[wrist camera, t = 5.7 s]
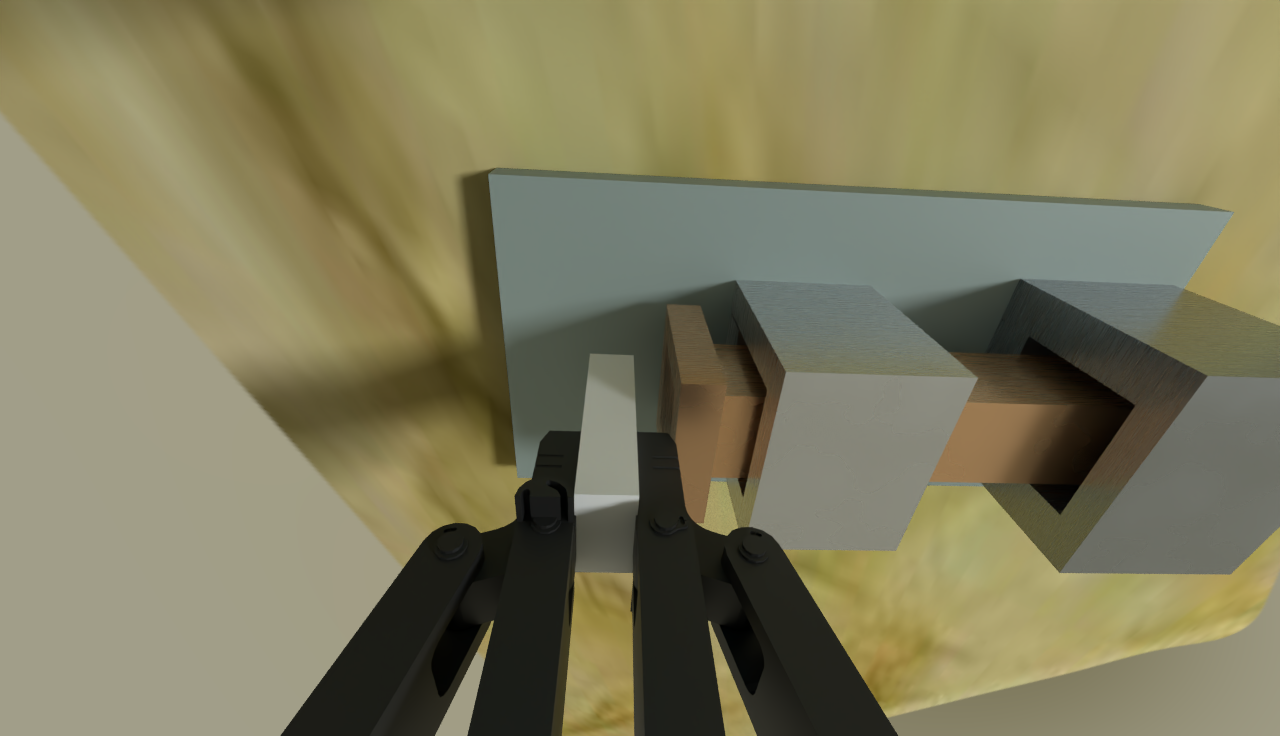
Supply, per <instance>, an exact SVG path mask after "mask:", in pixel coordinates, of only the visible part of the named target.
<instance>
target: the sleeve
mask: <svg viewBox="0 0 1280 736" xmlns="http://www.w3.org/2000/svg"><path fill="white" fill-rule="evenodd" d="M731 312H732V313H730V319H729V326H728V332H727V338H726V344H725V345H747V347H748V349H749V351H750V353H751V356H752V358H753V360H754V362H755V364H756V366H757V369H758V371H759V373H760V375H761V377H762V380H763V382H764V384H765V386H766V388H767V393H766V398H765V402H764V407H763V411H762V416H761V420H760V425H759V429H758V434H757V438H756V443H755V447H754V452H753V456H752V461H751V465H750V470H749V474H748V478H726V481H727V485H728V489H729V493H730V497H731V501H732V505H733V509H734V513H735V517H736V521H737V525H738V528H740V527H753V528H757V529H760V530H763V531H765V532H766V533H768V534H769V535H771V536H772V537H773V538H774V539H775V540H776V541H777V542H778V543H779V545H780V546H781V548H782V549H795V550H883V551H896V550H897V548H898V545H899V543H900V541H901V539H902V537H903V535H904V533H905V531H906V529H907V526H908V524H909V522H910V520H911V518H912V516H913V514H914V512H915V510H916V508H917V505H918V503H919V501H920V499H921V497H922V495H923V493H924V491H925V489H926V486H927V484H928V482H929V480H930V478H931V476H932V474H933V472H934V470H935V468H936V465H937V463H938V461H939V459H940V457H941V455H942V453H943V451H944V449H945V447H946V444H947V442H948V440H949V438H950V436H951V434H952V432H953V430H954V428H955V425H956V423H957V421H958V419H959V417H960V415H961V413H962V411H963V409H964V407H965V404H966V402H967V400H968V398H969V396H970V394H971V392H972V390H973V388H974V385H975V383H976V381H977V379H978V377H977V376H975V375H974V374H973V373H972V372H971V371H970V370H968V369H967V368H966V367H965V366H964V365H963V364H961V363H960V362H959V361H958V360H957V359H956V358H954V357H953V356H952V355H951V354H950V353H949V352H947V351H946V350H945V349H944V348H943V347H942V346H940V345H939V344H938V343H937V342H936V341H935V340H933V339H932V338H931V337H930V336H929V335H928V334H926V333H925V332H924V331H923V330H922V329H921V328H919V327H918V326H917V325H916V324H915V323H914V322H912V321H911V320H910V319H909V318H908V317H907V316H905V315H904V314H903V313H902V312H901V311H900V310H898V309H897V308H896V307H895V306H894V305H893V304H891V303H890V302H889V301H888V300H887V299H886V298H884V297H883V296H882V295H881V294H880V293H879V292H877V291H876V290H875V289H874V288H873V287H872V286H871V285H847V284H822V283H798V282H773V281H749V280H736V282H735V288H734V295H733V301H732V307H731Z"/></svg>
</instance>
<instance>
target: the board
mask: <svg viewBox="0 0 1280 736" xmlns="http://www.w3.org/2000/svg"><path fill="white" fill-rule="evenodd" d="M488 178H489V188H490V198H491V208H492V219H493V229H494V239H495V250H496V260H497V270H498V280H499V291H500V301H501V311H502V322H503V332H504V342H505V353H506V363H507V373H508V383H509V394H510V404H511V414H512V425H513V435H514V445H515V455H516V466H517V476H518V478H532V476H533V471H534V467H535V462H536V458H537V453H538V449H539V444H540V441H541V440H542V439H543V438H544V436H545V435H546V434H547V433H548V432H549V431H581V429H582V420H583V412H584V403H585V394H586V385H587V377H588V368H589V359H590V354H613V355H634V378H635V403H636V427H637V432H657V426H656V419H657V408H658V396H659V385H660V374H661V362H662V351H663V340H664V328H665V317H666V306H667V304H676V305H700V306H701V309H702V312H703V315H704V318H705V321H706V324H707V327H708V330H709V333H710V336H711V339H712V342H713V344H724V345H725V344H726V338H727V332H728V326H729V319H730V313H732V312H731V307H732V301H733V295H734V288H735V282H736V280H749V281H773V282H798V283H822V284H847V285H871V286H872V287H873V288H874V289H875V290H876V291H877V292H879V293H880V294H881V295H882V296H883V297H884V298H886V299H887V300H888V301H889V302H890V303H891V304H893V305H894V306H895V307H896V308H897V309H898V310H900V311H901V312H902V313H903V314H904V315H905V316H907V317H908V318H909V319H910V320H911V321H912V322H914V323H915V324H916V325H917V326H918V327H919V328H921V329H922V330H923V331H924V332H925V333H926V334H928V335H929V336H930V337H931V338H932V339H933V340H935V341H936V342H937V343H938V344H939V345H940V346H942V347H943V348H944V349H945V350H946V351H947V352H961V353H985V352H986V350H987V348H988V346H989V344H990V342H991V339H992V337H993V335H994V333H995V331H996V329H997V327H998V324H999V322H1000V320H1001V318H1002V316H1003V314H1004V312H1005V310H1006V307H1007V305H1008V303H1009V301H1010V299H1011V297H1012V295H1013V293H1014V290H1015V288H1016V286H1017V284H1018V282H1019V280H1020V279H1041V280H1065V281H1088V282H1112V283H1136V284H1159V285H1175V286H1177V287H1180V288H1182V289H1184V288H1185V286H1186V285H1187V283H1188V282H1189V280H1190V279H1191V277H1192V276H1193V274H1194V273H1195V271H1196V270H1197V268H1198V267H1199V265H1200V264H1201V262H1202V261H1203V259H1204V257H1205V256H1206V254H1207V253H1208V251H1209V250H1210V248H1211V247H1212V245H1213V244H1214V242H1215V241H1216V239H1217V238H1218V236H1219V235H1220V233H1221V231H1222V230H1223V228H1224V227H1225V225H1226V224H1227V222H1228V221H1229V219H1230V218H1231V216H1232V215H1233V213H1234V212H1231V211H1227V210H1222V209H1218V208H1214V207H1209V206H1205V205H1200V204H1184V203H1165V202H1145V201H1126V200H1107V199H1088V198H1068V197H1049V196H1030V195H1010V194H991V193H972V192H953V191H933V190H914V189H895V188H875V187H856V186H837V185H817V184H798V183H779V182H760V181H740V180H721V179H702V178H682V177H663V176H644V175H624V174H605V173H586V172H567V171H547V170H528V169H509V168H496V169H494V170H493V171H492V172H490V173H489V174H488ZM711 481H726V478H711ZM927 485H942V486H983V485H982V483H965V482H928V484H927Z"/></svg>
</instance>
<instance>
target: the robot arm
mask: <svg viewBox="0 0 1280 736" xmlns="http://www.w3.org/2000/svg"><path fill="white" fill-rule="evenodd" d="M515 505H516V516H517V519H516V520H515V521H513V522H512V523H510V524H508V525H507V526H505V527H502V528H499V529H496V530H492V531H488V532H483V533H480V532H479V531H478V530H477V529H476V528H475V527H473V526H471V525H468V524H464V523H453V524H449V525H445V526H442V527H440V528H438V529H437V530H435V531H433V532H432V533H431V534H430V535H429V536H428V537H427V538H426V539H425V540H424V541H423V542H422V543H421V545H420V546H419V548H418V549H417V550H416V552H415V553H414V554H413V556H412V557H411V558H410V560H409V561H408V563H407V564H406V565H405V567H404V568H403V569H402V571H401V572H400V574H399V575H398V576H397V578H396V579H395V580H394V582H393V583H392V585H391V586H390V587H389V589H388V590H387V591H386V593H385V594H384V595H383V597H382V598H381V599H380V601H379V602H378V603H377V605H376V606H375V608H374V609H373V610H372V612H371V613H370V614H369V616H368V617H367V619H366V620H365V621H364V623H363V624H362V625H361V627H360V628H359V630H358V631H357V632H356V633H355V635H354V636H353V638H352V639H351V640H350V642H349V643H348V644H347V646H346V647H345V648H344V650H343V651H342V653H341V654H340V655H339V657H338V658H337V659H336V661H335V662H334V663H333V665H332V666H331V668H330V669H329V670H328V672H327V673H326V674H325V676H324V677H323V678H322V680H321V681H320V683H319V684H318V685H317V687H316V688H315V689H314V691H313V692H312V693H311V695H310V696H309V698H308V699H307V700H306V702H305V703H304V704H303V706H302V707H301V708H300V710H299V711H298V713H297V714H296V715H295V717H294V718H293V719H292V721H291V722H290V724H289V725H288V726H287V727H286V729H285V730H284V732H283V733H282V734H281V736H435V734H436V732H437V730H438V728H439V726H440V724H441V722H442V720H443V718H444V716H445V714H446V712H447V710H448V708H449V706H450V704H451V702H452V700H453V698H454V696H455V694H456V692H457V690H458V688H459V686H460V684H461V682H462V680H463V678H464V676H465V674H466V672H467V670H468V668H469V666H470V664H471V662H472V660H473V658H474V656H475V654H476V652H477V650H478V648H479V646H480V644H481V642H482V640H483V638H484V636H485V634H486V632H487V630H488V628H489V626H490V623H491V621H493V620H494V623H493V628H492V632H491V636H490V641H489V645H488V649H487V654H486V658H485V662H484V667H483V671H482V675H481V679H480V684H479V688H478V692H477V697H476V701H475V705H474V710H473V714H472V718H471V723H470V727H469V731H468V736H562V725H563V714H564V703H565V691H566V680H567V669H568V658H569V647H570V635H571V624H572V613H573V602H574V576H575V572H611V573H633V588H632V600H631V612H632V617H633V677H634V736H725V730H724V723H723V717H722V710H721V704H720V697H719V691H718V684H717V678H716V671H715V665H714V658H713V652H712V645H711V639H710V632H709V626H708V621H711V625H712V627H713V630H714V632H715V634H716V637H717V639H718V642H719V644H720V647H721V649H722V651H723V654H724V656H725V659H726V661H727V664H728V666H729V668H730V671H731V673H732V676H733V678H734V681H735V683H736V685H737V688H738V690H739V693H740V695H741V698H742V700H743V702H744V705H745V707H746V710H747V712H748V715H749V717H750V719H751V722H752V724H753V727H754V729H755V732H756V734H757V736H898V735H897V733H896V732H895V730H894V728H893V727H892V725H891V723H890V722H889V720H888V719H887V717H886V715H885V714H884V712H883V710H882V709H881V707H880V706H879V704H878V702H877V701H876V699H875V698H874V696H873V694H872V693H871V691H870V690H869V688H868V686H867V685H866V683H865V682H864V680H863V678H862V677H861V675H860V673H859V672H858V670H857V669H856V667H855V665H854V664H853V662H852V661H851V659H850V657H849V656H848V654H847V653H846V651H845V649H844V648H843V646H842V645H841V643H840V641H839V640H838V638H837V636H836V635H835V633H834V632H833V630H832V628H831V627H830V625H829V624H828V622H827V620H826V619H825V617H824V616H823V614H822V612H821V611H820V609H819V607H818V606H817V604H816V603H815V601H814V599H813V598H812V596H811V595H810V593H809V591H808V590H807V588H806V587H805V585H804V583H803V582H802V580H801V579H800V577H799V575H798V574H797V572H796V570H795V569H794V567H793V566H792V564H791V562H790V561H789V559H788V558H787V556H786V554H785V553H784V551H783V550H782V548H781V546H780V545H779V543H778V542H777V541H776V540H775V539H774V538H773V537H772V536H771V535H769V534H768V533H766V532H765V531H763V530H760V529H757V528H753V527H740V528H738V529H735V530H733V531H731V533H730V534H729V535H728V536H725V535H721V534H718V533H715V532H711V531H709V530H706V529H704V528H702V527H701V526H699V525H698V524H696V523H695V522H694V521H693V520H692V519H691V517H690V516H689V514H688V513H687V510H686V507H685V500H684V493H683V486H682V479H681V472H680V466H679V459H678V452H677V445H676V443H675V442H674V440H673V439H672V438H671V436H670V435H669V434H668V433H657V432H637V427H636V403H635V378H634V355H613V354H590V359H589V368H588V377H587V385H586V394H585V403H584V412H583V420H582V429H581V431H549V432H548V433H547V434H546V435H545V436H544V438H543V439H542V440H541V441H540V444H539V449H538V453H537V458H536V462H535V467H534V471H533V476H532V480H529V481H527V482H526V483H524V484H523V485H522V486H521V487H519V489H518V491H517V492H516V494H515Z"/></svg>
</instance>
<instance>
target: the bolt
mask: <svg viewBox="0 0 1280 736" xmlns="http://www.w3.org/2000/svg"><path fill="white" fill-rule="evenodd" d="M949 353H950V354H951V355H952V356H953V357H954V358H956V359H957V360H958V361H959V362H960V363H961V364H963V365H964V366H965V367H966V368H967V369H968V370H970V371H971V372H972V373H973V374H974V375H975V376H977V377H978V379H977V381H976V383H975V385H974V388H973V390H972V392H971V394H970V396H969V398H968V400H967V402H966V404H965V407H964V409H963V411H962V413H961V415H960V417H959V419H958V421H957V423H956V425H955V428H954V430H953V432H952V434H951V436H950V438H949V440H948V442H947V444H946V447H945V449H944V451H943V453H942V455H941V457H940V459H939V461H938V463H937V465H936V468H935V470H934V472H933V474H932V476H931V478H930V480H929V482H965V483H1017V484H1069V485H1081V484H1082V483H1083V481H1084V480H1085V478H1086V477H1087V476H1088V474H1089V473H1090V471H1091V470H1092V468H1093V467H1094V465H1095V464H1096V462H1097V461H1098V460H1099V458H1100V457H1101V455H1102V454H1103V452H1104V451H1105V449H1106V448H1107V447H1108V445H1109V444H1110V442H1111V441H1112V439H1113V438H1114V436H1115V435H1116V434H1117V432H1118V431H1119V429H1120V428H1121V426H1122V425H1123V423H1124V422H1125V420H1126V419H1127V418H1128V416H1129V415H1130V413H1131V412H1132V410H1133V409H1134V407H1135V406H1136V405H1135V404H1133V403H1132V402H1130V401H1128V400H1127V399H1125V398H1124V397H1122V396H1121V395H1119V394H1118V393H1116V392H1115V391H1113V390H1111V389H1110V388H1108V387H1107V386H1105V385H1104V384H1102V383H1101V382H1099V381H1098V380H1096V379H1095V378H1093V377H1091V376H1090V375H1088V374H1087V373H1085V372H1084V371H1082V370H1081V369H1079V368H1078V367H1076V366H1074V365H1073V364H1071V363H1070V362H1068V361H1067V360H1065V359H1064V358H1062V357H1061V356H1050V355H1020V354H991V353H961V352H949ZM766 393H767V388H766V386H765V384H764V382H763V380H762V377H761V375H760V373H759V371H758V369H757V366H756V364H755V362H754V360H753V358H752V356H751V353H750V351H749V349H748V347H747V345H724V344H713V342H712V339H711V336H710V333H709V330H708V327H707V324H706V321H705V318H704V315H703V312H702V309H701V306H700V305H676V304H667V306H666V317H665V328H664V340H663V351H662V362H661V374H660V385H659V396H658V408H657V419H656V426H657V433H668V434H669V435H670V436H671V438H672V439H673V440H674V442H675V443H676V445H677V452H678V459H679V466H680V472H681V479H682V486H683V493H684V500H685V507H686V510H687V513H688V514H689V516H690V517H691V519H692V520H693V521H694V522H695V523H704V517H705V512H706V506H707V500H708V494H709V488H710V482H711V478H748V474H749V470H750V465H751V461H752V456H753V452H754V447H755V443H756V438H757V434H758V429H759V425H760V420H761V416H762V411H763V407H764V402H765V398H766Z"/></svg>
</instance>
